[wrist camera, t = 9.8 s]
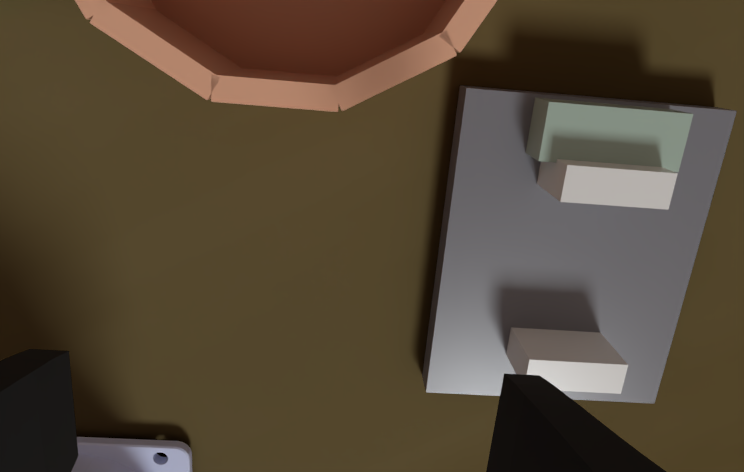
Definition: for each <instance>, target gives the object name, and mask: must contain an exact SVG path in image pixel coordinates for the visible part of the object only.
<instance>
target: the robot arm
mask: <svg viewBox="0 0 744 472" xmlns="http://www.w3.org/2000/svg"><path fill="white" fill-rule="evenodd" d="M159 452H161V453H164V454H166V455H167V457H161V456H159V455H158V454H157V453H159ZM0 472H192V452H191V448H190V447H189V446H188V445H187V444H185V443H184V442H180V441H167V440H143V439H120V438H96V437H77V435H76V425H75V414H74V403H73V392H72V382H71V371H70V360H69V351H57V350H37V349H29V350H26V351H24V352H21V353H18V354H16V355H13V356H11V357H9V358H6V359H4V360H2V361H0ZM486 472H666V471H665V470H663V469H662V468H660V467H659V466H658V465H656V464H655V463H654V462H652V461H651V460H649V459H648V458H647V457H645V456H644V455H643V454H641V453H640V452H639V451H637V450H636V449H635V448H633V447H632V446H631V445H629V444H628V443H627V442H625V441H624V440H623V439H622V438H620V437H619V436H618V435H616V434H615V433H614V432H613V431H611V430H610V429H609V428H607V427H606V426H605V425H604V424H602V423H601V422H600V421H599V420H597V419H596V418H595V417H593V416H592V415H591V414H590V413H588V412H587V411H586V410H585V409H583V408H582V407H581V406H580V405H578V404H577V403H576V402H575V401H573V400H572V399H571V398H569V397H568V396H567V395H566V394H564V393H563V392H562V391H560V390H559V389H558V388H557V387H555V386H554V385H552V384H551V383H550V382H548V381H547V380H545V379H544V378H542V377H541V376H539V375H522V374H504V377H503V383H502V388H501V394H500V399H499V405H498V410H497V416H496V421H495V427H494V432H493V438H492V443H491V449H490V454H489V460H488V465H487V471H486Z"/></svg>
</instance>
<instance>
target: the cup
mask: <svg viewBox="0 0 744 472" xmlns="http://www.w3.org/2000/svg"><path fill="white" fill-rule="evenodd" d="M75 1H76V3H77V5H78V6H79V8H80V10H81V11H82V13H83V15H84V16H85V18H86V19H91V21H90V23H91V24H92V25H94V26H95V27H97V28H98V29H100V30H101V31H103V32H104V33H106V34H107V35H109V36H110V37H112V38H113V39H115V40H116V41H118V42H120V43H121V44H123V45H124V46H126V47H127V48H129V49H130V50H132V51H133V52H135V53H136V54H138V55H139V56H141V57H142V58H144V59H145V60H147V61H148V62H150V63H151V64H153V65H154V66H156V67H157V68H159V69H160V70H162V71H164V72H165V73H167V74H168V75H170V76H171V77H173V78H174V79H176V80H177V81H179V82H180V83H182V84H183V85H185V86H186V87H188V88H189V89H191V90H192V91H194V92H195V93H197V94H198V95H200V96H201V97H203V98H205V99H206V100H209V99H211V102H222V103H234V104H246V105H258V106H271V107H283V108H295V109H308V110H320V111H332V112H338V107H339V106H340V108H341V110H342V111H344V110H346V109H348V108H350V107H352V106H354V105H356V104H358V103H360V102H362V101H364V100H366V99H368V98H370V97H372V96H374V95H377V94H379V93H381V92H383V91H385V90H387V89H389V88H391V87H393V86H395V85H397V84H399V83H401V82H403V81H405V80H407V79H410V78H412V77H414V76H416V75H418V74H420V73H422V72H424V71H426V70H428V69H430V68H432V67H434V66H436V65H438V64H440V63H443V62H445V61H447V60H449V59H451V58H453V57H455V56H457V54H456V52H461V51H462V50H463V48H464V47H465V45H466V44H467V42H468V41H469V40H470V38H471V37H472V35H473V34H474V33H475V31H476V30H477V28H478V27H479V25H480V24H481V23H482V21H483V20H484V18H485V17H486V16H487V14H488V13H489V11H490V10H491V8H492V7H493V6H494V4H495V3H496V1H497V0H75Z"/></svg>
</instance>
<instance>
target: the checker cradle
mask: <svg viewBox="0 0 744 472" xmlns="http://www.w3.org/2000/svg"><path fill="white" fill-rule="evenodd" d="M736 112H737V111H734V110H728V109H723V108H718V107H708V106H696V105H684V104H673V103H661V102H649V101H638V100H626V99H614V98H603V97H591V96H579V95H567V94H556V93H544V92H532V91H521V90H509V89H497V88H486V87H474V86H462V85H460V89H459V96H458V104H457V112H456V119H455V127H454V135H453V143H452V150H451V158H450V166H449V173H448V181H447V189H446V197H445V204H444V212H443V220H442V227H441V235H440V243H439V251H438V258H437V266H436V274H435V281H434V289H433V297H432V305H431V312H430V320H429V328H428V335H427V343H426V351H425V359H424V366H423V374H422V377H423V381H424V386H425V390H426V392H431V393H451V394H472V395H492V396H500V394H501V388H502V383H503V377H504V374H522V375H539V376H541V377H542V378H544V379H545V380H547V381H548V382H550V383H551V384H552V385H554V386H555V387H557V388H558V389H559V390H560V391H562V392H563V393H564V394H566V395H567V396H568V397H569V398H571V399H574V400H595V401H615V402H635V403H655V399H656V396H657V392H658V389H659V385H660V382H661V378H662V375H663V371H664V367H665V364H666V360H667V357H668V353H669V350H670V346H671V343H672V339H673V335H674V332H675V328H676V325H677V321H678V318H679V314H680V311H681V307H682V304H683V300H684V296H685V293H686V289H687V286H688V282H689V279H690V275H691V272H692V268H693V264H694V261H695V257H696V254H697V250H698V247H699V243H700V240H701V236H702V233H703V229H704V225H705V222H706V218H707V215H708V211H709V208H710V204H711V201H712V197H713V193H714V190H715V186H716V183H717V179H718V176H719V172H720V169H721V165H722V161H723V158H724V154H725V151H726V147H727V144H728V140H729V137H730V133H731V130H732V126H733V122H734V119H735V115H736Z"/></svg>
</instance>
